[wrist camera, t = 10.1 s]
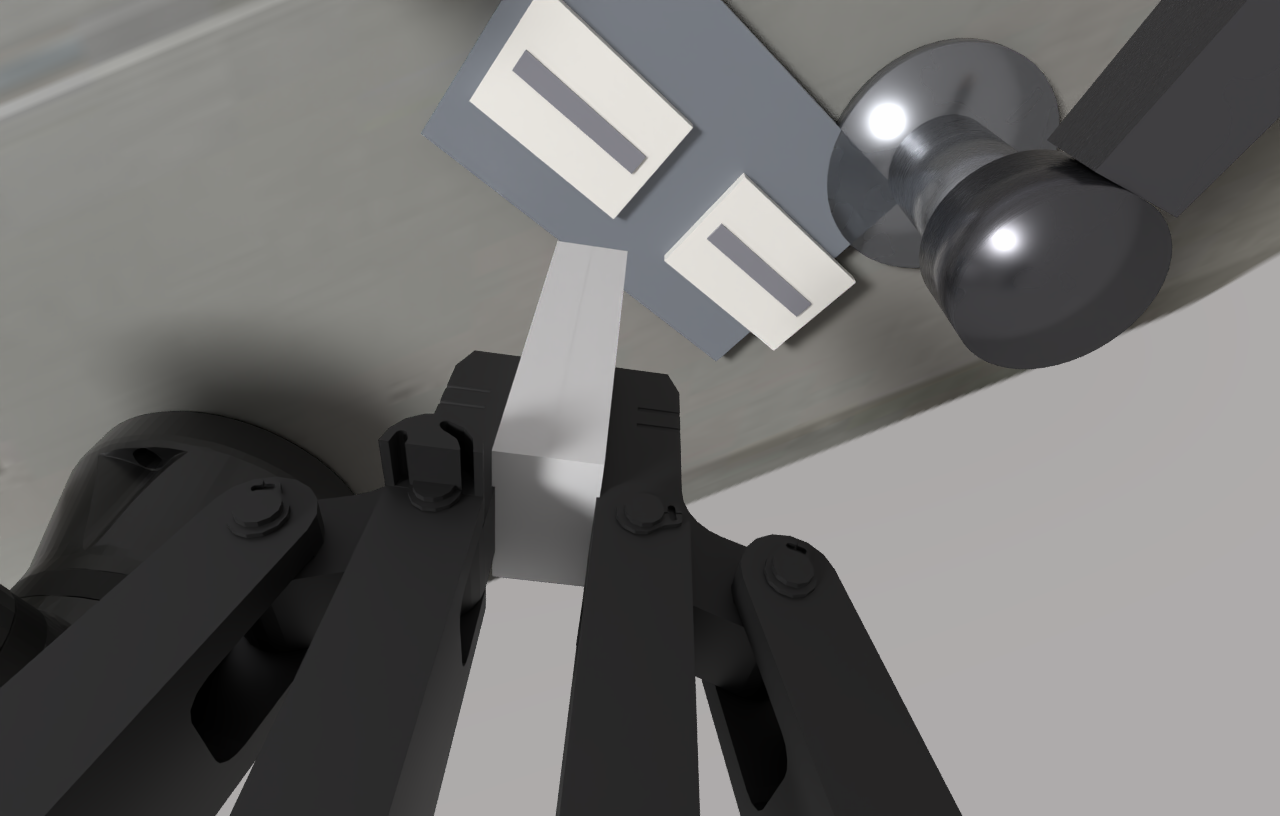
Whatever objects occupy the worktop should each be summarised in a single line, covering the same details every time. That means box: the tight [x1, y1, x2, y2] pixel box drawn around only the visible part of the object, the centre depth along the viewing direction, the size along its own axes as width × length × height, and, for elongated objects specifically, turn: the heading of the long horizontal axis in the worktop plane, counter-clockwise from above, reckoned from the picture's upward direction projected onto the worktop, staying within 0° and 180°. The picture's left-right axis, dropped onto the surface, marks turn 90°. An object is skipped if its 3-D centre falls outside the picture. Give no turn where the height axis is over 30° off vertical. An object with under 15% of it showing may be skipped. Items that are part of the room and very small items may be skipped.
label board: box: [421, 0, 896, 361], centre depth 24 cm, size 10×16×1 cm, turn 50°
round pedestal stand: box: [827, 38, 1060, 268], centre depth 21 cm, size 8×8×6 cm
